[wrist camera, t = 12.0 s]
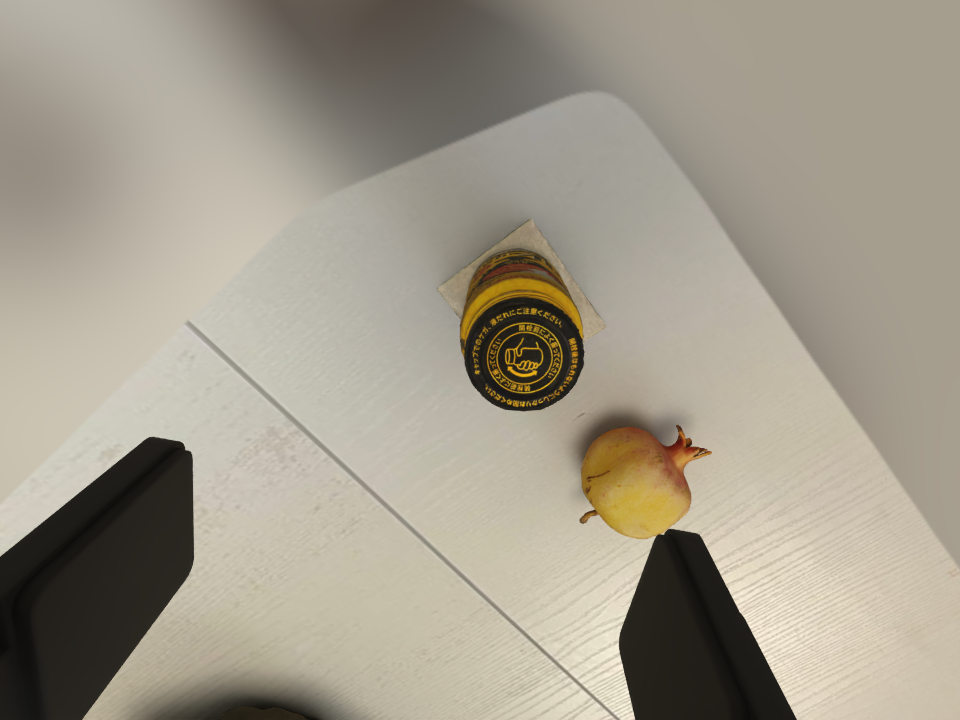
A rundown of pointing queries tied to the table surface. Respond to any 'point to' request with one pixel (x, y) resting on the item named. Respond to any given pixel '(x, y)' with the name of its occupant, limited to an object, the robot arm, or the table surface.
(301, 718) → the stone bowl
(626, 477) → the fruit
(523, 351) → the condiment
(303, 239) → the table surface
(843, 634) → the table surface
